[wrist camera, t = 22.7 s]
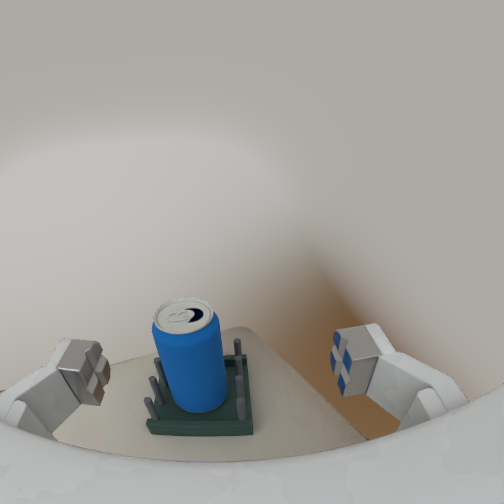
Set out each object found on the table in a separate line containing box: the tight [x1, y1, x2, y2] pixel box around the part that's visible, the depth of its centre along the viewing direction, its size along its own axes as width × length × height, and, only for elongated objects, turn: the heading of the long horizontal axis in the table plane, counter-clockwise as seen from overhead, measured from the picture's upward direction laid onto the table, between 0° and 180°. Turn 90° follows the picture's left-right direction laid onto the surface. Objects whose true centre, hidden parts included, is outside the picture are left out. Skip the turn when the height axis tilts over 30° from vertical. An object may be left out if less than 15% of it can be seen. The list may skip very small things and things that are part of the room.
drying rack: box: [144, 339, 253, 436], centre depth 30 cm, size 11×11×6 cm
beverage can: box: [152, 297, 228, 413], centre depth 28 cm, size 6×6×12 cm
